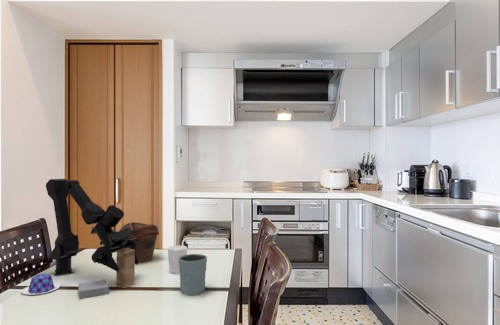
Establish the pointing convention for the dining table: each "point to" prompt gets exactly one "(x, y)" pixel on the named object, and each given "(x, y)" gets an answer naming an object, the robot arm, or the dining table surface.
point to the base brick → (93, 288)
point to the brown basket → (143, 240)
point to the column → (125, 268)
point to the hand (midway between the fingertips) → (128, 267)
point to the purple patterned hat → (41, 284)
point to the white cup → (175, 257)
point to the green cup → (192, 273)
